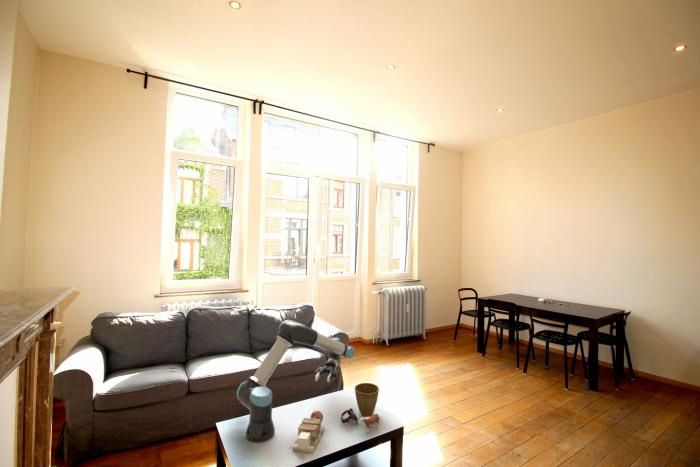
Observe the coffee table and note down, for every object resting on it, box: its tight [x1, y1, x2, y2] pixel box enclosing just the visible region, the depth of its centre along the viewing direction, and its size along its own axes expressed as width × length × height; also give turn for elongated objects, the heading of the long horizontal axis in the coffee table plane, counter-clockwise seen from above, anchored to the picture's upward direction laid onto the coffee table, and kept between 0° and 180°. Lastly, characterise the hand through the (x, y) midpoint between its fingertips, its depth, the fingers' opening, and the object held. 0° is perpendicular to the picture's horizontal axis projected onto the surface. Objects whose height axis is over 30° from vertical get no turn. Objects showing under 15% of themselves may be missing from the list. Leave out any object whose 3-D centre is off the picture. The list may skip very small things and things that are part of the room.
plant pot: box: [354, 382, 380, 418], centre depth 205 cm, size 15×15×16 cm
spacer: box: [297, 431, 311, 449], centre depth 169 cm, size 6×5×5 cm
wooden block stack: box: [305, 410, 324, 432], centre depth 183 cm, size 20×7×7 cm, turn 170°
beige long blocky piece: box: [291, 417, 325, 454], centre depth 177 cm, size 20×11×8 cm, turn 170°
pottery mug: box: [340, 408, 359, 426], centre depth 195 cm, size 12×10×8 cm
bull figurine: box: [358, 413, 380, 434], centre depth 188 cm, size 4×13×8 cm, turn 122°
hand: (321, 379), depth 202 cm, fingers open, 7 cm apart
